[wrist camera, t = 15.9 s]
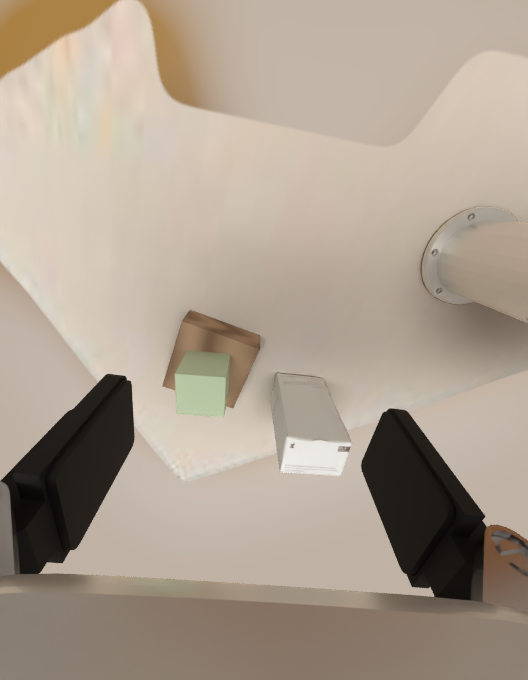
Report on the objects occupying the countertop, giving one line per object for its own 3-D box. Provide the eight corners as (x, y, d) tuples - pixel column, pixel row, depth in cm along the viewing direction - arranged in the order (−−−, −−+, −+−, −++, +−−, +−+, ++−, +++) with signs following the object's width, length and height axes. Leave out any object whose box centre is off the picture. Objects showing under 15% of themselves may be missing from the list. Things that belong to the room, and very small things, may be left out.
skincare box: (270, 399, 47) (274, 474, 34) (276, 369, 44) (283, 437, 31) (317, 405, 48) (340, 480, 34) (326, 376, 45) (354, 445, 32)
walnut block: (259, 334, 42) (259, 349, 38) (235, 389, 46) (233, 408, 42) (190, 309, 40) (181, 321, 36) (172, 368, 45) (162, 386, 40)
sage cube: (230, 353, 38) (225, 377, 32) (228, 389, 40) (224, 417, 35) (187, 350, 38) (174, 373, 32) (188, 386, 40) (176, 413, 35)
